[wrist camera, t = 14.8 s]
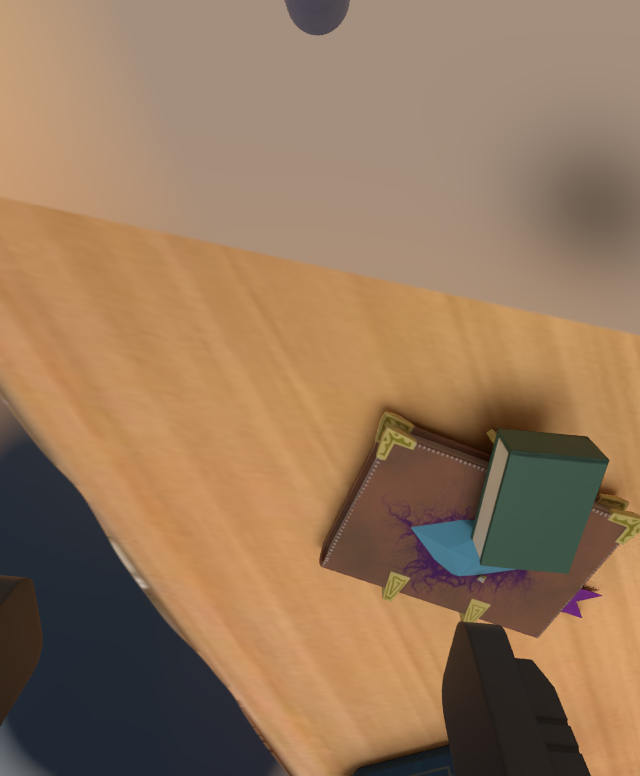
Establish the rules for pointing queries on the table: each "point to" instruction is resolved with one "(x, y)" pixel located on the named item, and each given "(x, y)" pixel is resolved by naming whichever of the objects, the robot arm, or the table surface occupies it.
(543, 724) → the robot arm
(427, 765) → the radio
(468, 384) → the table surface
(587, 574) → the book
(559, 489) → the notebook
